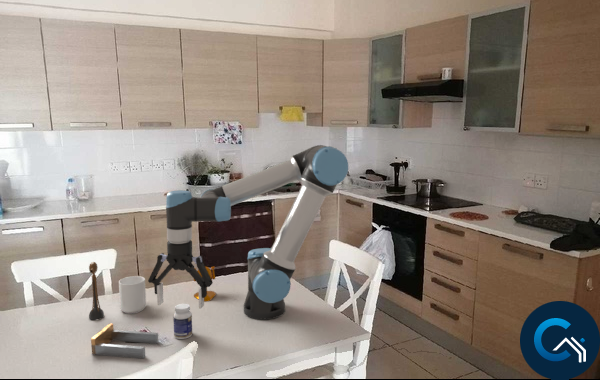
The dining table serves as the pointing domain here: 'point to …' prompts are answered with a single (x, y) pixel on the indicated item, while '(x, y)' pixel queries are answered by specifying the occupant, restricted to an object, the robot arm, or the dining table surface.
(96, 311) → the wooden tabletop sculpture
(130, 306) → the mug
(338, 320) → the dining table surface
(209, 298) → the gold trophy cup
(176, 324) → the pill bottle
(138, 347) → the rail cradle
